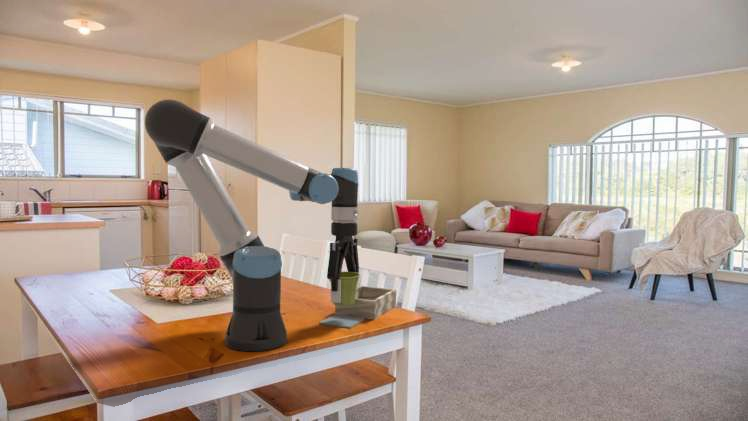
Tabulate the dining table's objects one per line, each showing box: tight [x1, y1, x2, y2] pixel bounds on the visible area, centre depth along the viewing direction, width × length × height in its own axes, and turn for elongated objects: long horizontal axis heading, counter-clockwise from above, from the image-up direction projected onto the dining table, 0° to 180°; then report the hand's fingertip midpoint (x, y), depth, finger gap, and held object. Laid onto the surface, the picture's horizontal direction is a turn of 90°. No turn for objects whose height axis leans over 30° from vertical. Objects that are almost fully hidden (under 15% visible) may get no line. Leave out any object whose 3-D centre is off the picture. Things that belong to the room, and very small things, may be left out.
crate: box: [334, 285, 397, 320], centre depth 167 cm, size 19×13×6 cm
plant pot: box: [328, 271, 361, 306], centre depth 153 cm, size 9×9×9 cm
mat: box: [318, 314, 366, 329], centre depth 153 cm, size 10×10×1 cm
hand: (343, 298), depth 153 cm, fingers closed on plant pot, 9 cm apart
